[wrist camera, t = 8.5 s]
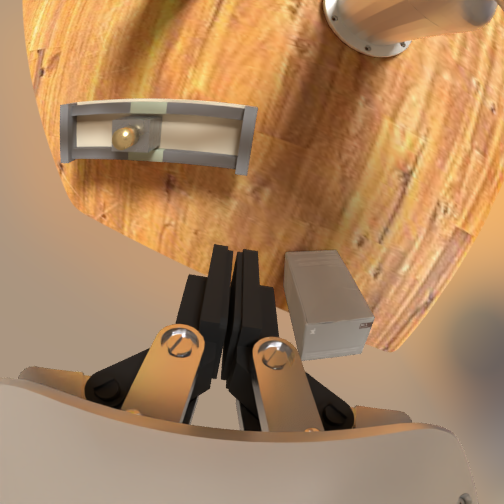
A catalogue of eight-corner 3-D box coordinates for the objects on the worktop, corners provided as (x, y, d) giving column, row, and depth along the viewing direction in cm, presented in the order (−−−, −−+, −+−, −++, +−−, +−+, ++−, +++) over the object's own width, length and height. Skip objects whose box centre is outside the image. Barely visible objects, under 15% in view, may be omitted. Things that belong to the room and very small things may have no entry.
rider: (128, 115, 25) (102, 122, 20) (162, 116, 26) (142, 122, 21) (126, 143, 27) (102, 156, 22) (160, 144, 27) (140, 157, 22)
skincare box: (282, 284, 44) (294, 365, 31) (285, 245, 41) (301, 325, 27) (333, 282, 44) (360, 359, 31) (340, 244, 41) (377, 320, 27)
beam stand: (91, 99, 28) (60, 105, 22) (255, 105, 30) (257, 108, 24) (90, 148, 32) (60, 163, 26) (247, 159, 34) (246, 175, 28)
